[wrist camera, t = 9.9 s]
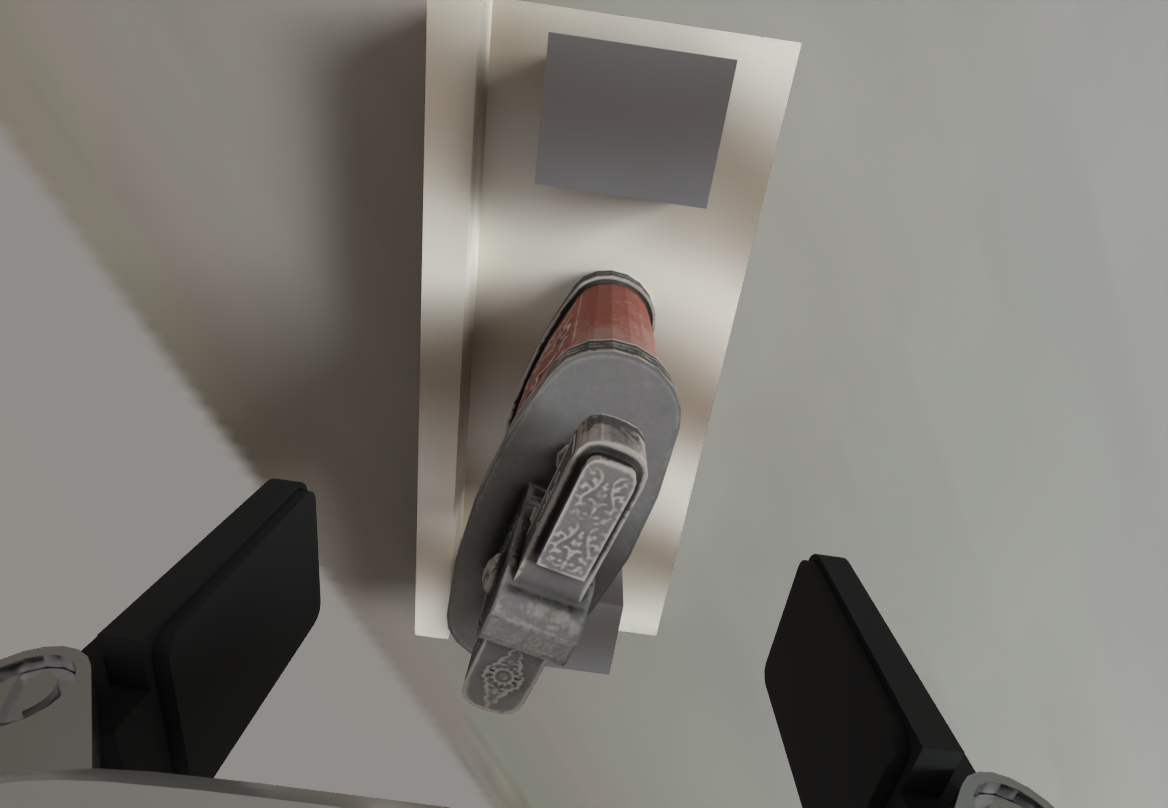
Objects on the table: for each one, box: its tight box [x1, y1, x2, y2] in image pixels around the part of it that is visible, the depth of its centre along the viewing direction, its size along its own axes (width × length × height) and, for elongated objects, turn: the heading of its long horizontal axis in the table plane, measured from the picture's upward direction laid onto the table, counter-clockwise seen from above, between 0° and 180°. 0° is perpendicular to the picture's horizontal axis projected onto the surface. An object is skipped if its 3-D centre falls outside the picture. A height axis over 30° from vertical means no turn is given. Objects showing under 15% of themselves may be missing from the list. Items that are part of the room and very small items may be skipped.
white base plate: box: [415, 0, 802, 674], centre depth 18 cm, size 20×9×4 cm, turn 172°
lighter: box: [447, 270, 682, 714], centre depth 14 cm, size 8×3×10 cm, turn 157°
